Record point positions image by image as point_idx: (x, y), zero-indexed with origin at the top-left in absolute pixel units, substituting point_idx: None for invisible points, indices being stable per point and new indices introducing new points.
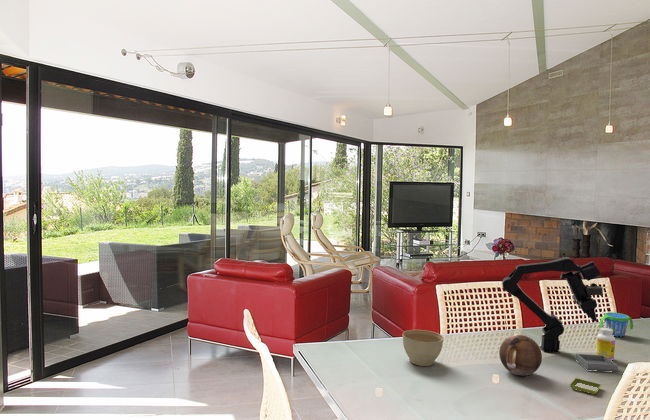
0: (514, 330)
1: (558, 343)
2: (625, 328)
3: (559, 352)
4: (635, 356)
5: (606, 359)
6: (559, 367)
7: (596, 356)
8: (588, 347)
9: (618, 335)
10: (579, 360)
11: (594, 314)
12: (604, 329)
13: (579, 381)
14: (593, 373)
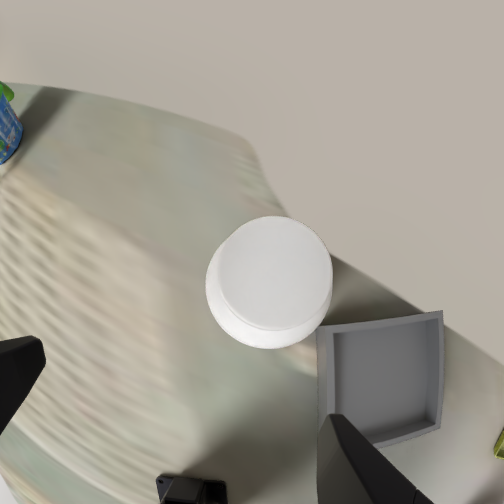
0: (8, 480)
1: (203, 502)
2: (12, 109)
3: (224, 483)
4: (194, 146)
5: (364, 329)
6: None
7: (332, 367)
8: (99, 303)
9: (17, 139)
10: None
11: (405, 494)
12: (295, 300)
13: (498, 445)
14: None
